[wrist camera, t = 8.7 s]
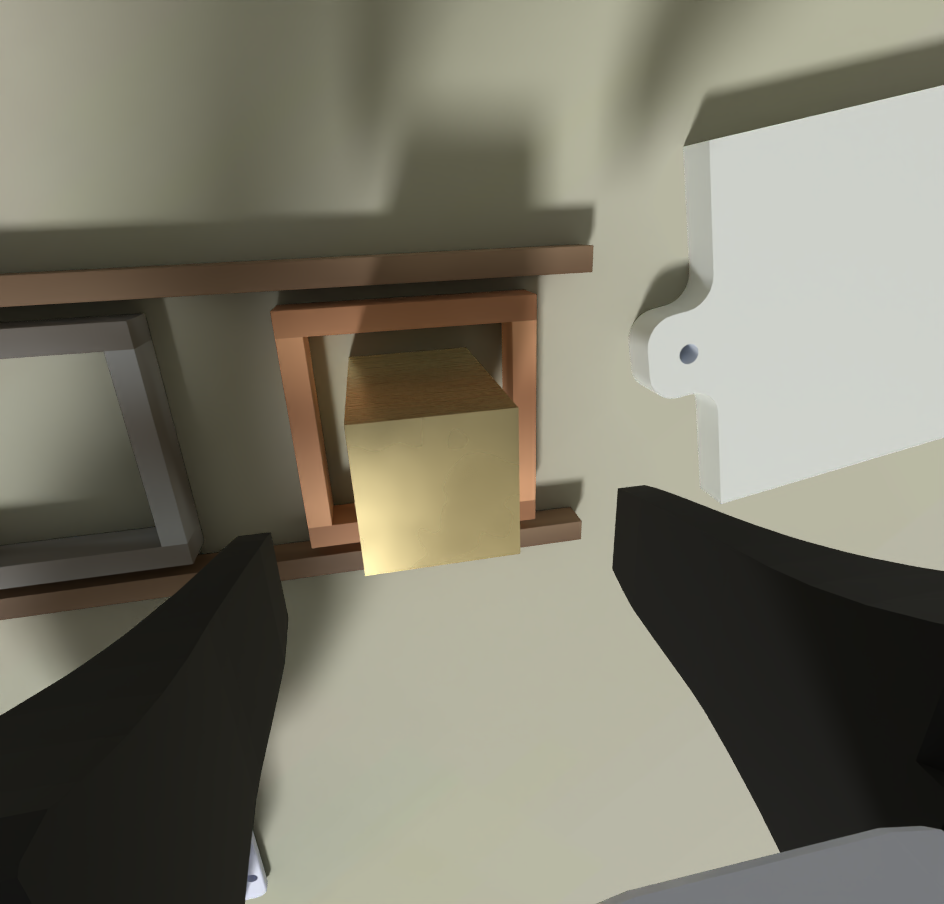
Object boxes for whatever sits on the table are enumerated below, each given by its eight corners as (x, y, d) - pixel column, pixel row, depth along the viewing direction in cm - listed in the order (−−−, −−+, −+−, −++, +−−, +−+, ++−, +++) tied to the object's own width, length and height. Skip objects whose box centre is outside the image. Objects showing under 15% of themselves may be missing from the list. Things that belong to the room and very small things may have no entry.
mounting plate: (639, 499, 24) (662, 521, 22) (605, 164, 18) (631, 158, 17) (1010, 390, 25) (1058, 403, 23) (1076, 53, 20) (1145, 37, 18)
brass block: (470, 453, 21) (520, 553, 14) (363, 465, 20) (365, 576, 14) (465, 347, 19) (518, 407, 13) (349, 356, 19) (344, 425, 12)
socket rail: (570, 524, 23) (583, 542, 21) (-98, 613, 19) (-133, 643, 18) (579, 244, 19) (596, 245, 17) (-273, 287, 15) (-336, 293, 13)
